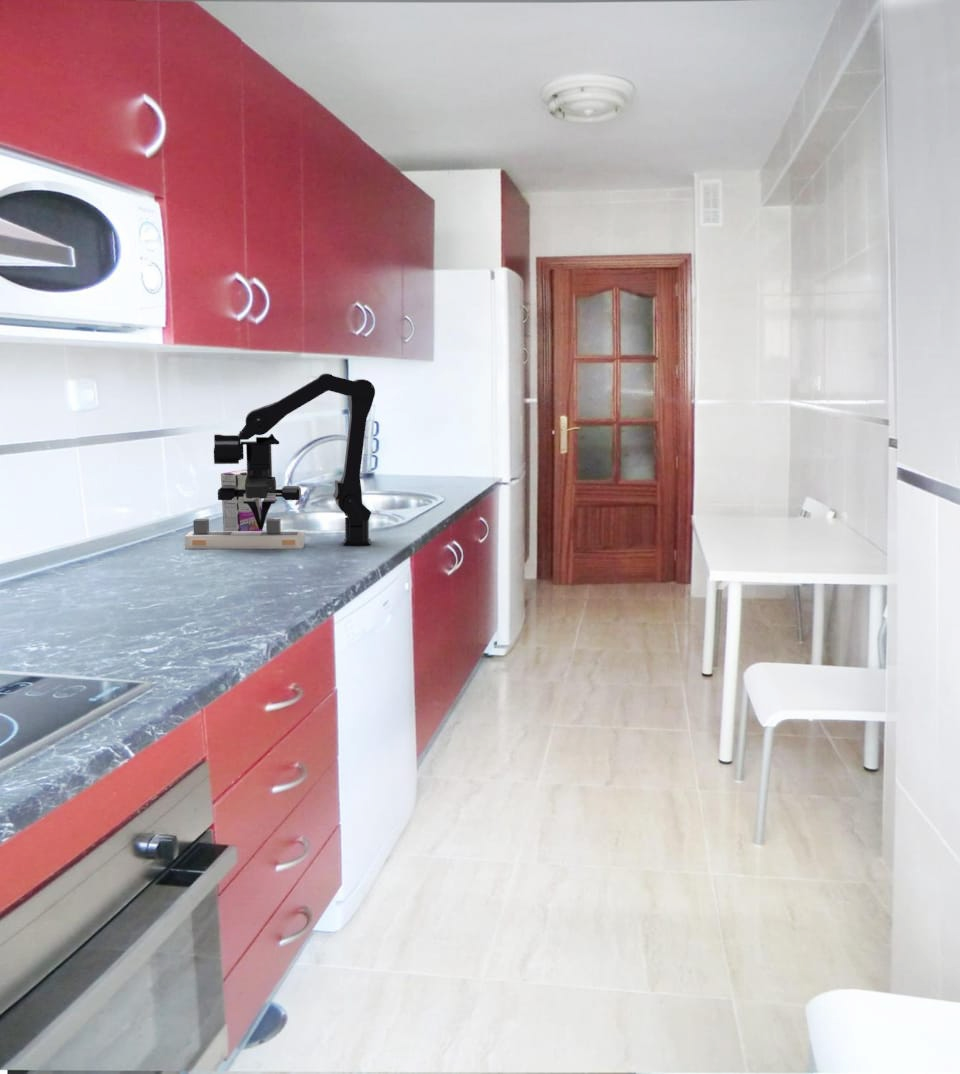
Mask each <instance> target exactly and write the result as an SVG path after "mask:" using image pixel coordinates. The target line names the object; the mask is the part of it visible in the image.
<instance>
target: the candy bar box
mask: <svg viewBox="0 0 960 1074" xmlns="http://www.w3.org/2000/svg"><path fill="white" fill-rule="evenodd" d="M246 477H247V468H245V469H239V470H233V471H228V472H223V473H220V482H221V487H223V486H238V489H245V480H246ZM256 499H259V506H260V514H261V512H262V499H261V498H256ZM221 501H222V502H221V503H222V504H221V505H222V527H223V528H222V529H223V530H222V531H264V530H263V529H259V528H258V525H257V522H256V519H255V517H254V514H253V512H252V510H251V508H250V507H249V505H248V504H244V503H243V501H244V498H243V497H234V498H233V499H232V500H221Z"/></svg>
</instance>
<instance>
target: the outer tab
mask: <svg viewBox="0 0 960 1074" xmlns="http://www.w3.org/2000/svg"><path fill="white" fill-rule="evenodd" d="M193 531H194V533H208V532H209V531H210V519H209V518H195V519H194V520H193Z"/></svg>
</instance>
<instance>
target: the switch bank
mask: <svg viewBox="0 0 960 1074" xmlns="http://www.w3.org/2000/svg"><path fill="white" fill-rule="evenodd" d="M305 545H306V531H305V530H294V531H293V530H291V531H290V530H289V531H287V530H285V531H284V530H281V532H280V533H267V532H266V530H265V531H264V530H263V531H224V530H216V531H214V530H212V531H211V530H209V532H208V533H194V530H192V531H189V532H188V533H187V534H186V535H184V549H185V550H190V549H191V550H217V549H218V550H222V549H223V550H226V549H227V550H228V549H229V550H231V549H232V550H237V549H239V550H240V549H241V550H242V549H243V550H244V549H245V550H247V549H248V550H249V549H253V550H254V549H256V550H257V549H259V550H260V549H261V550H262V549H263V550H264V549H270V550H271V549H272V550H273V549H275V550H277V549H278V550H279V549H281V550H282V549H283V550H285V549H297V550H299V549H300V550H301V549H304V547H305Z"/></svg>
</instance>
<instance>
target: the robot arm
mask: <svg viewBox="0 0 960 1074" xmlns="http://www.w3.org/2000/svg"><path fill="white" fill-rule="evenodd" d="M328 391H329V392H333V393H336V394H339V395H344V396H347V401H348V411H349V422H348V431H347V432H348V433H347V439H346V449H345V456H344V466H343V473H342V476H341V479H340V481H339V480H336V479H335V480H334V488H335V489H334V493H333V494H332V497H333V498H334V499H335V504H336V506H337V507H338V508H339V509H340V511H341V512H343V513H344V515H345V518H344V529H345V530H344V534H345V535H344V538H343V541H342V545H345V546H350V545H351V546H353V545H354V546H360V545H361V546H364V545H365V546H366V545H367V546H370V545H371V538H369V537H370V536H369V535H370V532H369V530H370V529H369V527H370V525H369V524H370V522H369V521H370V517H371V516H372V512H371V510H370V509H368V507H367V506H365V504H363V491H362V482H361V470H362V469H361V468H362V462H363V461H362V459H363V450H364V442H365V435H366V426H367V419H368V417H369V415H370V411H371V408H372V406H373V402H374V398H375V395H376V388H375V386H374V384H373V383H372V382H370V381H369V380H367V379H363V378H361V379H359V378H358V379H354V380H351V379H347V378H343V377H339V376H335V375H333V374H330V373H322V374H320V375H319V376H318V377H317V378H315V379H313V380H312V381H310V382H309V383H307V384H305V385H303V386H302V387H300V388H298V389H297V390H295V391H293V392H291V393H290V394H288V395H286V396H284V397H283V398H281V399H280V400H278V401H274V402H272V403H270V404H269V403H268V404H266V405H263V406H261V407H258V408H256V409H253V410H251V411H250V412H248V413H247V415H246V416H245V425H244V427H243V428H242V429H241V430H240V431H239V433H238V434H237V435H233V434H230V435H226V434H225V435H223V434H214V436H213V437H214V438H213V440H214V447H213V464H214V465H227V464H229V465H233V464H235V465H240V461H242V460H245V459H244V456H245V455H244V445H246V447H245V448H246V449H245V450H246V453H245V454H246V469H247V477H246V480H245V489H238V486H223V487H222V486H221V487H220V488H218V490H217V500H218V501H222V500H232V499H233V498H234V497H243V498H244V501H243V503H244V504H248V505H249V507H250V508H251V510H252V512H253V514H254V517H255V519H256V522H257V525H258V528H259V529H262V530H263V528H264V526H265V522H266V521H267V516H268V513H269V512H270V511H269V510H270V508H271V506H272V504H273V505H274V504H276V503H277V501H278V498H283V499H284V500H285V501H300V500H301V498H302V488H301V486H299V485H284V486H283V487H282V488H279V489H278V488H277V480H276V476H273V465H272V464H273V461H272V458H273V456H272V445H279V444H280V441H279V440H278V439H277V438H276V437H275V436H274V434H273V433H270V435H269V436H267V437H266V436H263V435H265V434H267V433H268V432H269V431H270V430H271V429H273V428H274V427H275V426H276V425H278V423H279V422H280V421H282V420H283V418H285V417H286V416H287V415H289V414H291V413H292V412H294V411H296V410H297V409H299V408H301V407H303V406H305V405H306V404H307V403H310V402H311V401H313V400H315V399H317V398H318V397H319V396H321V395H323V394H325V393H326V392H328ZM254 436H256V437H255V441H254V440H253V441H251V440H250V441H248V440H249V439H251V438H253V437H254ZM242 440H243V441H242ZM246 440H247V441H246ZM256 498H261V504H262V512H261V514H260V506H259V499H256ZM262 499H263V500H262Z"/></svg>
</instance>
